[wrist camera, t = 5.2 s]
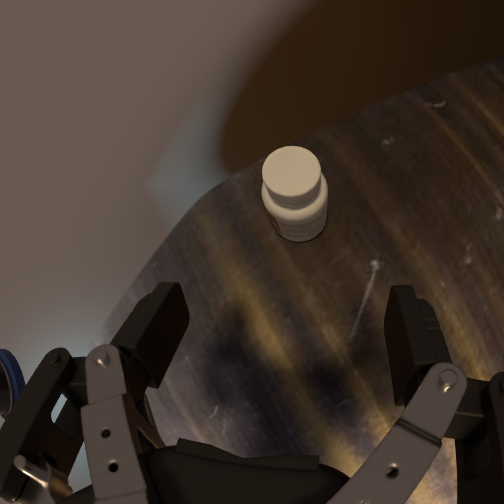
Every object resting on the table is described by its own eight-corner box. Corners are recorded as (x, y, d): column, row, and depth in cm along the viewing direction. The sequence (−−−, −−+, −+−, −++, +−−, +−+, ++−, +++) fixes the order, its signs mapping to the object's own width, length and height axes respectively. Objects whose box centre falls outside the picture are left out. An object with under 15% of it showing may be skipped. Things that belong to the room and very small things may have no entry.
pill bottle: (273, 192, 25) (255, 140, 18) (325, 192, 24) (327, 138, 17) (271, 242, 24) (250, 204, 16) (326, 243, 23) (330, 204, 16)
